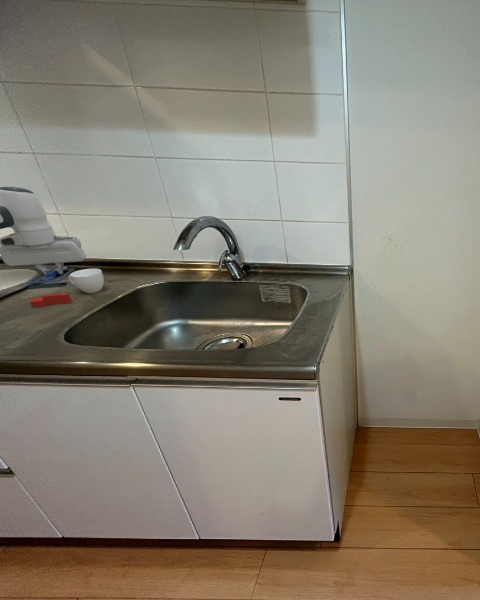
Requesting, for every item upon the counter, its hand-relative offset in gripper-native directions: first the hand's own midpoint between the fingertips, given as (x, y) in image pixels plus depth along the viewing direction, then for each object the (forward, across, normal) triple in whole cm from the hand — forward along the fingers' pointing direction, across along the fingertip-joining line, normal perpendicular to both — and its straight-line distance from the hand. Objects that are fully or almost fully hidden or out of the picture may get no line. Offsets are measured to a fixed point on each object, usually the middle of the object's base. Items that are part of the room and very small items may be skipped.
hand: (54, 274), depth 111 cm
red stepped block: (+2, -7, +23) cm, 24 cm away
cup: (+2, -13, +14) cm, 19 cm away
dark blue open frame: (+2, 0, +2) cm, 3 cm away
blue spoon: (+2, 0, +2) cm, 2 cm away
